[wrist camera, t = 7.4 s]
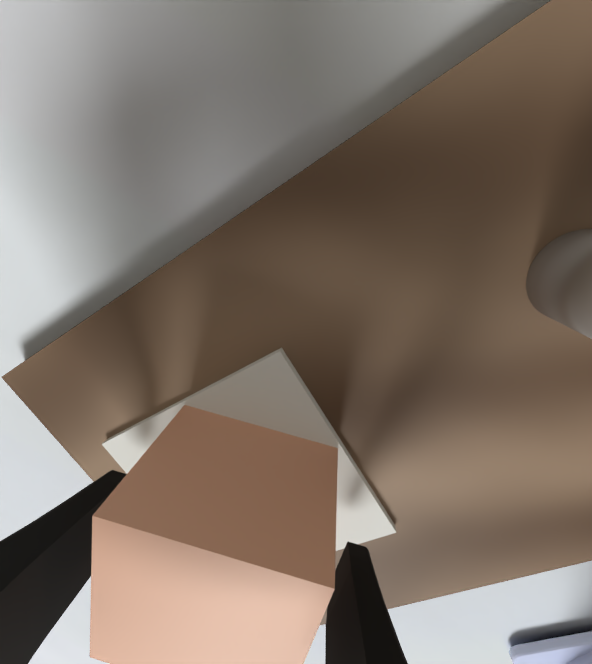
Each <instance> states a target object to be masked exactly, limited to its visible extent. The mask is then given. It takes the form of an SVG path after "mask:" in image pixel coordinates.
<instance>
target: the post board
mask: <svg viewBox="0 0 592 664" xmlns="http://www.w3.org/2000/svg"><path fill="white" fill-rule="evenodd" d="M280 348H282V349H283V350H284V352H285V354H286V355H287V357H288V358H289V360H290V361H291V363H292V365H293V366H294V368H295V369H296V371H297V372H298V374H299V376H300V377H301V379H302V380H303V382H304V383H305V385H306V386H307V388H308V390H309V391H310V393H311V394H312V396H313V397H314V399H315V401H316V402H317V404H318V405H319V407H320V408H321V410H322V412H323V413H324V415H325V416H326V418H327V419H328V421H329V422H330V424H331V426H332V427H333V429H334V430H335V432H336V433H337V435H338V437H339V438H340V440H341V441H342V443H343V444H344V446H345V448H346V449H347V451H348V452H349V454H350V455H351V457H352V459H353V460H354V462H355V463H356V465H357V466H358V468H359V469H360V471H361V473H362V474H363V476H364V477H365V479H366V480H367V482H368V484H369V485H370V487H371V488H372V490H373V491H374V493H375V495H376V496H377V498H378V499H379V501H380V502H381V504H382V505H383V507H384V509H385V510H386V512H387V513H388V515H389V516H390V518H391V520H392V521H393V523H394V524H395V527H396V533H393V534H390V535H387V536H384V537H380V538H377V539H374V540H370V541H367V542H364V543H361V544H358V545H361V546H365V547H367V549H368V550H369V553H370V557H371V560H372V564H373V567H374V570H375V574H376V577H377V580H378V583H379V586H380V589H381V592H382V595H383V598H384V601H385V604H386V607H387V609H390V608H394V607H399V606H403V605H407V604H411V603H415V602H420V601H424V600H428V599H432V598H436V597H441V596H445V595H449V594H453V593H457V592H461V591H466V590H470V589H474V588H478V587H482V586H487V585H491V584H495V583H499V582H503V581H508V580H512V579H516V578H520V577H524V576H529V575H533V574H537V573H541V572H545V571H550V570H554V569H558V568H562V567H566V566H571V565H575V564H579V563H583V562H587V561H592V0H551V1H549V2H548V3H546V4H545V5H543V6H542V7H540V8H539V9H538V10H536V11H535V12H533V13H532V14H530V15H529V16H527V17H526V18H524V19H523V20H522V21H520V22H519V23H517V24H516V25H514V26H513V27H511V28H510V29H508V30H507V31H505V32H504V33H503V34H501V35H500V36H498V37H497V38H495V39H494V40H492V41H491V42H489V43H488V44H487V45H485V46H484V47H482V48H481V49H479V50H478V51H476V52H475V53H473V54H472V55H470V56H469V57H468V58H466V59H465V60H463V61H462V62H460V63H459V64H457V65H456V66H454V67H453V68H452V69H450V70H449V71H447V72H446V73H444V74H443V75H441V76H440V77H438V78H437V79H435V80H434V81H433V82H431V83H430V84H428V85H427V86H425V87H424V88H422V89H421V90H419V91H418V92H416V93H415V94H414V95H412V96H411V97H409V98H408V99H406V100H405V101H403V102H402V103H400V104H399V105H398V106H396V107H395V108H393V109H392V110H390V111H389V112H387V113H386V114H384V115H383V116H381V117H380V118H379V119H377V120H376V121H374V122H373V123H371V124H370V125H368V126H367V127H365V128H364V129H363V130H361V131H360V132H358V133H357V134H355V135H354V136H352V137H351V138H349V139H348V140H346V141H345V142H344V143H342V144H341V145H339V146H338V147H336V148H335V149H333V150H332V151H330V152H329V153H328V154H326V155H325V156H323V157H322V158H320V159H319V160H317V161H316V162H314V163H313V164H311V165H310V166H309V167H307V168H306V169H304V170H303V171H301V172H300V173H298V174H297V175H295V176H294V177H293V178H291V179H290V180H288V181H287V182H285V183H284V184H282V185H281V186H279V187H278V188H276V189H275V190H274V191H272V192H271V193H269V194H268V195H266V196H265V197H263V198H262V199H260V200H259V201H258V202H256V203H255V204H253V205H252V206H250V207H249V208H247V209H246V210H244V211H243V212H241V213H240V214H239V215H237V216H236V217H234V218H233V219H231V220H230V221H228V222H227V223H225V224H224V225H223V226H221V227H220V228H218V229H217V230H215V231H214V232H212V233H211V234H209V235H208V236H206V237H205V238H204V239H202V240H201V241H199V242H198V243H196V244H195V245H193V246H192V247H190V248H189V249H188V250H186V251H185V252H183V253H182V254H180V255H179V256H177V257H176V258H174V259H173V260H171V261H170V262H169V263H167V264H166V265H164V266H163V267H161V268H160V269H158V270H157V271H155V272H154V273H153V274H151V275H150V276H148V277H147V278H145V279H144V280H142V281H141V282H139V283H138V284H136V285H135V286H134V287H132V288H131V289H129V290H128V291H126V292H125V293H123V294H122V295H120V296H119V297H118V298H116V299H115V300H113V301H112V302H110V303H109V304H107V305H106V306H104V307H103V308H101V309H100V310H99V311H97V312H96V313H94V314H93V315H91V316H90V317H88V318H87V319H85V320H84V321H83V322H81V323H80V324H78V325H77V326H75V327H74V328H72V329H71V330H69V331H68V332H66V333H65V334H64V335H62V336H61V337H59V338H58V339H56V340H55V341H53V342H52V343H50V344H49V345H47V346H46V347H45V348H43V349H42V350H40V351H39V352H37V353H36V354H34V355H33V356H31V357H30V358H29V359H27V360H26V361H24V362H23V363H21V364H20V365H18V366H17V367H15V368H14V369H12V370H11V371H10V372H8V373H7V374H5V375H4V376H2V378H3V380H4V381H5V382H6V383H7V384H8V385H9V386H10V387H11V389H12V390H13V391H14V392H15V393H16V394H17V395H18V397H19V398H20V399H21V400H22V401H23V402H24V403H25V404H26V406H27V407H28V408H29V409H30V410H31V411H32V412H33V413H34V415H35V416H36V417H37V418H38V419H39V420H40V421H41V423H42V424H43V425H44V426H45V427H46V428H47V429H48V430H49V432H50V433H51V434H52V435H53V436H54V437H55V438H56V439H57V441H58V442H59V443H60V444H61V445H62V446H63V447H64V449H65V450H66V451H67V452H68V453H69V454H70V455H71V456H72V458H73V459H74V460H75V461H76V462H77V463H78V464H79V465H80V467H81V468H82V469H83V470H84V471H85V472H86V473H87V475H88V476H89V477H90V478H91V479H92V480H93V481H96V480H97V479H99V478H100V477H102V476H103V475H105V474H106V473H107V472H109V471H111V470H115V471H118V472H122V473H125V474H126V472H125V471H124V470H123V469H122V468H121V466H120V465H119V464H118V463H117V462H116V461H115V459H114V458H113V457H112V456H111V455H110V454H109V452H108V451H107V450H106V449H105V448H104V446H103V445H102V443H103V442H104V441H105V440H106V439H108V438H110V437H112V436H114V435H116V434H118V433H120V432H121V431H123V430H125V429H127V428H129V427H131V426H133V425H135V424H137V423H139V422H141V421H142V420H144V419H146V418H148V417H150V416H152V415H154V414H156V413H158V412H160V411H162V410H163V409H165V408H167V407H169V406H171V405H173V404H175V403H177V402H179V401H181V400H183V399H184V398H186V397H188V396H190V395H192V394H194V393H196V392H198V391H200V390H202V389H204V388H205V387H207V386H209V385H211V384H213V383H215V382H217V381H219V380H221V379H223V378H225V377H226V376H228V375H230V374H232V373H234V372H236V371H238V370H240V369H242V368H244V367H246V366H247V365H249V364H251V363H253V362H255V361H257V360H259V359H261V358H263V357H265V356H267V355H268V354H270V353H272V352H274V351H276V350H278V349H280ZM344 549H345V548H344ZM344 549H341V550H338V551H336V554H335V570H336V568H337V565H338V563H339V560H340V558H341V556H342V553H343V551H344ZM326 617H327V608H326V611H325V613H324V616H323V618H322V620H321V623H320V625H323V624H326Z"/></svg>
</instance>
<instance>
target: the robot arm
mask: <svg viewBox="0 0 592 664" xmlns="http://www.w3.org/2000/svg"><path fill="white" fill-rule="evenodd" d="M126 475H127V474H125V473H122V472H118V471H115V470H111V471H109V472H107V473H106V474H105V475H103V476H102V477H100V478H99V479H97V480H96V481H94V482H93V483H91V484H90V485H88V486H87V487H85V488H84V489H83V490H81V491H80V492H78V493H77V494H75V495H74V496H72V497H71V498H69V499H68V500H66V501H65V502H63V503H62V504H60V505H58V506H57V507H55V508H54V509H52V510H51V511H49V512H47V513H46V514H44V515H43V516H41V517H40V518H38V519H37V520H35V521H33V522H32V523H30V524H29V525H27V526H25V527H24V528H22V529H20V530H18V531H17V532H15V533H13V534H12V535H10V536H8V537H7V538H5V539H3V540H2V541H0V664H28V663H29V661H30V659H31V658H32V656H33V655H34V653H35V652H36V651H37V649H38V648H39V646H40V645H41V643H42V642H43V640H44V639H45V638H46V636H47V635H48V633H49V632H50V631H51V629H52V628H53V627H54V625H55V624H56V623H57V621H58V620H59V618H60V617H61V616H62V614H63V613H64V612H65V610H66V609H67V608H68V606H69V605H70V603H71V602H72V601H73V599H74V598H75V597H76V595H77V594H78V593H79V591H80V590H81V589H82V587H83V586H84V584H85V583H86V582H87V580H88V579H89V578H90V576H91V563H92V516H93V514H94V513H95V512H96V511H97V510H98V508H99V507H100V506H101V505H102V504H103V502H104V501H105V500H106V499H107V498H108V496H109V495H110V494H111V493H112V491H113V490H114V489H115V488H116V487H117V485H118V484H119V483H120V482H121V481H122V479H123V478H124V477H125V476H126ZM509 654H510V657H511V659H512V662H513V664H592V631H588V632H583V633H577V634H572V635H567V636H561V637H556V638H550V639H545V640H540V641H534V642H529V643H523V644H518V645H515V646H513V647H511V648H510V650H509ZM326 664H408V663H407V661H406V658H405V656H404V653H403V651H402V648H401V646H400V643H399V640H398V638H397V635H396V632H395V629H394V627H393V624H392V621H391V619H390V616H389V613H388V610H387V607H386V604H385V601H384V598H383V595H382V592H381V589H380V586H379V583H378V580H377V577H376V574H375V570H374V567H373V564H372V560H371V557H370V553H369V550H368V549H367V547H365V546H361V545H358V544H355V543H352V542H347V544H346V546H345V549H344V551H343V553H342V556H341V558H340V560H339V563H338V565H337V568H336V570H335V589H334V592H333V594H332V597H331V599H330V601H329V604H328V606H327V617H326Z"/></svg>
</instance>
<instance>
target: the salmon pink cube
mask: <svg viewBox="0 0 592 664" xmlns="http://www.w3.org/2000/svg"><path fill="white" fill-rule="evenodd" d="M337 468H338V448H336V447H332V446H329V445H325V444H322V443H318V442H314V441H311V440H307V439H304V438H300V437H297V436H293V435H290V434H286V433H283V432H279V431H276V430H272V429H268V428H265V427H261V426H258V425H254V424H251V423H247V422H244V421H240V420H237V419H233V418H230V417H226V416H222V415H219V414H215V413H212V412H208V411H205V410H201V409H198V408H194V407H191V406H187V405H184V406H183V407H182V408H181V410H180V411H179V412H178V413H177V414H176V416H175V417H174V418H173V419H172V420H171V422H170V423H169V424H168V425H167V426H166V428H165V429H164V430H163V431H162V432H161V434H160V435H159V436H158V437H157V438H156V440H155V441H154V442H153V443H152V445H151V446H150V447H149V448H148V449H147V451H146V452H145V453H144V454H143V455H142V457H141V458H140V459H139V460H138V461H137V463H136V464H135V465H134V466H133V467H132V469H131V470H130V471H129V472H128V473H127V475H126V476H125V477H124V478H123V479H122V481H121V482H120V483H119V484H118V485H117V487H116V488H115V489H114V490H113V491H112V493H111V494H110V495H109V496H108V498H107V499H106V500H105V501H104V502H103V504H102V505H101V506H100V507H99V508H98V510H97V511H96V512H95V513H94V514H93V516H92V563H91V620H90V657H91V658H94V659H97V660H100V661H104V662H107V663H110V664H303V663H304V661H305V658H306V656H307V654H308V651H309V649H310V647H311V644H312V642H313V639H314V637H315V635H316V632H317V630H318V628H319V625H320V623H321V620H322V618H323V616H324V613H325V611H326V608H327V606H328V604H329V601H330V599H331V597H332V594H333V592H334V589H335V554H336V511H337Z"/></svg>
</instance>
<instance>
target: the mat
mask: <svg viewBox="0 0 592 664" xmlns="http://www.w3.org/2000/svg"><path fill="white" fill-rule="evenodd" d="M184 405H187V406H191V407H194V408H198V409H201V410H205V411H208V412H212V413H215V414H219V415H222V416H226V417H230V418H233V419H237V420H240V421H244V422H247V423H251V424H254V425H258V426H261V427H265V428H268V429H272V430H276V431H279V432H283V433H286V434H290V435H293V436H297V437H300V438H304V439H307V440H311V441H314V442H318V443H322V444H325V445H329V446H332V447H336V448H338V468H337V511H336V551H338V550H341V549H344V548H345V546H346V544H347V542H352V543H355V544H361V543H364V542H367V541H370V540H374V539H377V538H380V537H384V536H387V535H390V534H393V533H396V527H395V524H394V523H393V521H392V520H391V518H390V516H389V515H388V513H387V512H386V510H385V509H384V507H383V505H382V504H381V502H380V501H379V499H378V498H377V496H376V495H375V493H374V491H373V490H372V488H371V487H370V485H369V484H368V482H367V480H366V479H365V477H364V476H363V474H362V473H361V471H360V469H359V468H358V466H357V465H356V463H355V462H354V460H353V459H352V457H351V455H350V454H349V452H348V451H347V449H346V448H345V446H344V444H343V443H342V441H341V440H340V438H339V437H338V435H337V433H336V432H335V430H334V429H333V427H332V426H331V424H330V422H329V421H328V419H327V418H326V416H325V415H324V413H323V412H322V410H321V408H320V407H319V405H318V404H317V402H316V401H315V399H314V397H313V396H312V394H311V393H310V391H309V390H308V388H307V386H306V385H305V383H304V382H303V380H302V379H301V377H300V376H299V374H298V372H297V371H296V369H295V368H294V366H293V365H292V363H291V361H290V360H289V358H288V357H287V355H286V354H285V352H284V350H283V349H282V348H280V349H278V350H276V351H274V352H272V353H270V354H268V355H267V356H265V357H263V358H261V359H259V360H257V361H255V362H253V363H251V364H249V365H247V366H246V367H244V368H242V369H240V370H238V371H236V372H234V373H232V374H230V375H228V376H226V377H225V378H223V379H221V380H219V381H217V382H215V383H213V384H211V385H209V386H207V387H205V388H204V389H202V390H200V391H198V392H196V393H194V394H192V395H190V396H188V397H186V398H184V399H183V400H181V401H179V402H177V403H175V404H173V405H171V406H169V407H167V408H165V409H163V410H162V411H160V412H158V413H156V414H154V415H152V416H150V417H148V418H146V419H144V420H142V421H141V422H139V423H137V424H135V425H133V426H131V427H129V428H127V429H125V430H123V431H121V432H120V433H118V434H116V435H114V436H112V437H110V438H108V439H106V440H105V441H104V442H103V443H102V445H103V446H104V448H105V449H106V450H107V451H108V452H109V454H110V455H111V456H112V457H113V458H114V459H115V461H116V462H117V463H118V464H119V465H120V466H121V468H122V469H123V470H124V471H125V472H126V474H127V473H128V472H129V471H130V470H131V469H132V467H133V466H134V465H135V464H136V463H137V461H138V460H139V459H140V458H141V457H142V455H143V454H144V453H145V452H146V451H147V449H148V448H149V447H150V446H151V445H152V443H153V442H154V441H155V440H156V438H157V437H158V436H159V435H160V434H161V432H162V431H163V430H164V429H165V428H166V426H167V425H168V424H169V423H170V422H171V420H172V419H173V418H174V417H175V416H176V414H177V413H178V412H179V411H180V410H181V408H182V407H183V406H184Z"/></svg>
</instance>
